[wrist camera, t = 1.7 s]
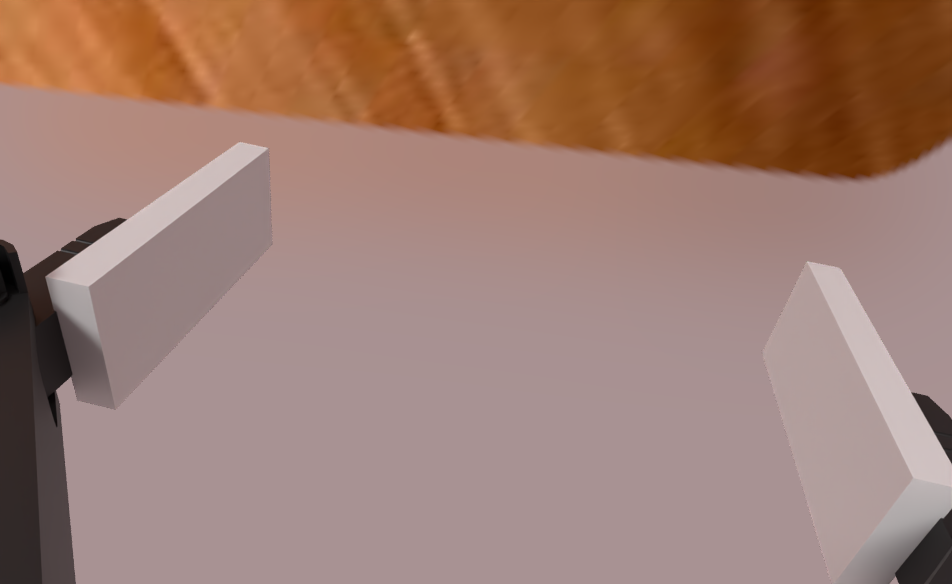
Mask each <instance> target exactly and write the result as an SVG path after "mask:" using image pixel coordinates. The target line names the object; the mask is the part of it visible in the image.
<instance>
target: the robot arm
mask: <svg viewBox="0 0 952 584" xmlns="http://www.w3.org/2000/svg"><path fill="white" fill-rule="evenodd" d="M269 164H270V163H269V148H266V147H261V146H257V145H252V144H247V143H242V142H239V143H237V144H236V145H234V146H233V147H232V148H230V149H229V150H227V151H226V152H224V153H223V154H221V155H220V156H219V157H217V158H216V159H214V160H213V161H212V162H210V163H208V164H207V165H206V166H204V167H203V168H201V169H200V170H199V171H197V172H196V173H194V174H193V175H191V176H190V177H188V178H187V179H185V180H184V181H182V182H181V183H180V184H178V185H177V186H175V187H174V188H173V189H171V190H170V191H168V192H167V193H165V194H164V195H162V196H161V197H159V198H158V199H157V200H155V201H154V202H152V203H151V204H149V205H148V206H146V207H145V208H144V209H142V210H141V211H139V212H138V213H136V214H135V215H133V216H132V217H131V218H129V219H128V220H127V219H122V218H117V219H115V220H111V221H109V222H106V223H103V224H100V225H97V226H94V227H93V228H91V229H90V230H88V231H87V232H85V233H84V234H82V235H81V236H79V237H78V238H76V241H71V242H70V243H68V244H67V245H66V246H64V247H62V248H61V251H56V252H55V253H53V254H52V255H50V256H49V257H47V258H46V259H45V260H43V261H41V262H40V263H39V264H37V265H35V266H34V267H32V268H31V269H29V270H28V271H26V272H25V273H23V272H22V268H21V265H20V261H19V257H18V254H17V251H16V249H15V248H14V246H13V245H12V244H10V243H8V242H6V241H4V240H0V584H76V582H75V572H74V560H73V549H72V537H71V526H70V517H69V503H68V492H67V481H66V470H65V459H64V448H63V436H62V426H61V414H60V403H59V400H58V396H57V393H56V390H57V389H58V388H59V387H60V386H61V385H62V384H63V383H64V382H65V381H67V380H68V379H69V378H70V377H71V378H72V381H73V386H74V389H75V393H76V397H77V400H78V401H82V402H86V403H90V404H94V405H98V406H103V407H107V408H110V409H114V410H116V409H117V408H118V407H119V406H120V404H121V403H122V402H123V401H124V400H125V399H126V398H127V397H128V396H129V395H130V394H131V393H132V392H133V391H134V390H135V389H136V388H137V387H138V386H139V384H140V383H141V382H142V381H143V380H144V379H145V378H146V377H147V376H148V375H149V374H150V373H151V372H152V371H153V370H154V368H155V367H157V366H158V364H159V363H160V362H161V361H162V360H163V359H164V358H165V357H166V356H167V355H168V354H169V353H170V352H171V351H172V350H173V349H174V347H176V346H177V344H178V343H179V342H180V341H181V340H182V339H183V338H184V337H185V336H186V335H187V334H188V333H189V332H190V331H191V330H192V329H193V327H195V325H196V324H197V323H198V322H199V321H200V320H201V319H202V318H203V317H204V316H205V315H206V314H207V313H208V312H209V310H211V309H212V308H213V306H214V305H215V304H216V303H217V302H218V301H219V300H220V299H221V298H222V297H223V296H224V295H225V294H226V293H227V292H228V291H229V290H230V289H231V288H232V286H233V285H234V284H235V283H236V282H237V281H238V280H239V279H240V278H241V277H242V276H243V275H244V274H245V273H246V272H247V270H249V269H250V267H251V266H252V265H253V264H254V263H255V262H256V261H257V260H258V259H259V258H260V257H261V256H262V255H263V254H264V253H265V252H266V250H268V249H269V247H270V246H271V245H272V224H271V193H270V165H269ZM762 355H763V358H764V362H765V365H766V368H767V372H768V375H769V378H770V382H771V385H772V388H773V391H774V395H775V398H776V402H777V405H778V408H779V412H780V414H781V418H782V421H783V424H784V428H785V432H786V435H787V438H788V441H789V445H790V448H791V452H792V455H793V458H794V461H795V465H796V468H797V471H798V475H799V478H800V482H801V485H802V488H803V491H804V495H805V498H806V501H807V505H808V508H809V511H810V515H811V518H812V521H813V524H814V528H815V531H816V534H817V538H818V541H819V545H820V548H821V551H822V555H823V558H824V561H825V565H826V568H827V571H828V575H829V578H830V581H831V584H889V583H890V582H891V581H892V580H893V579H894V577H895V576H896V578H897V580H898V583H899V584H952V419H951V418H950V416H949V415H948V414H946V413H945V412H944V411H943V410H942V409H941V408H940V407H939V406H938V405H937V404H936V403H934V401H933V400H931V399H930V398H929V397H928V396H925V395H921V394H917V393H912V392H910V390H909V388H908V386H907V385H906V383H905V381H904V379H903V377H902V376H901V374H900V372H899V370H898V369H897V367H896V365H895V363H894V362H893V360H892V358H891V356H890V354H889V353H888V351H887V349H886V347H885V346H884V344H883V342H882V341H881V339H880V337H879V335H878V333H877V332H876V330H875V328H874V326H873V325H872V323H871V321H870V319H869V318H868V316H867V314H866V312H865V311H864V309H863V307H862V305H861V304H860V302H859V300H858V298H857V296H856V295H855V293H854V291H853V289H852V288H851V286H850V284H849V282H848V280H847V279H846V277H845V276H844V273H843V272H842V270H841V268H838V267H833V266H828V265H823V264H819V263H814V262H809V261H807V262H806V264H805V266H804V268H803V270H802V272H801V274H800V277H799V278H798V280H797V283H796V284H795V286H794V289H793V291H792V293H791V295H790V297H789V299H788V301H787V303H786V305H785V307H784V309H783V311H782V313H781V315H780V317H779V320H778V321H777V323H776V325H775V327H774V329H773V332H772V334H771V336H770V338H769V340H768V342H767V344H766V346H765V348H764V350H763V352H762Z"/></svg>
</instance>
